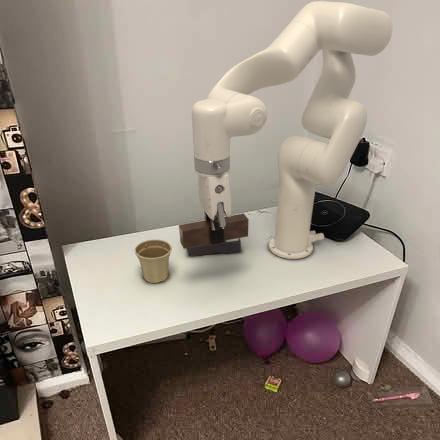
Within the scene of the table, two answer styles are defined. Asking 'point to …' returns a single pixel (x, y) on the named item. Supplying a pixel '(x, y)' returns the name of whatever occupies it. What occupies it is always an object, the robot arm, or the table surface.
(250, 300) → the table surface
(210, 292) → the table surface
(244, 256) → the table surface
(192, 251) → the calculator
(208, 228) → the brown wooden block
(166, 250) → the flower pot
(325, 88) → the robot arm
